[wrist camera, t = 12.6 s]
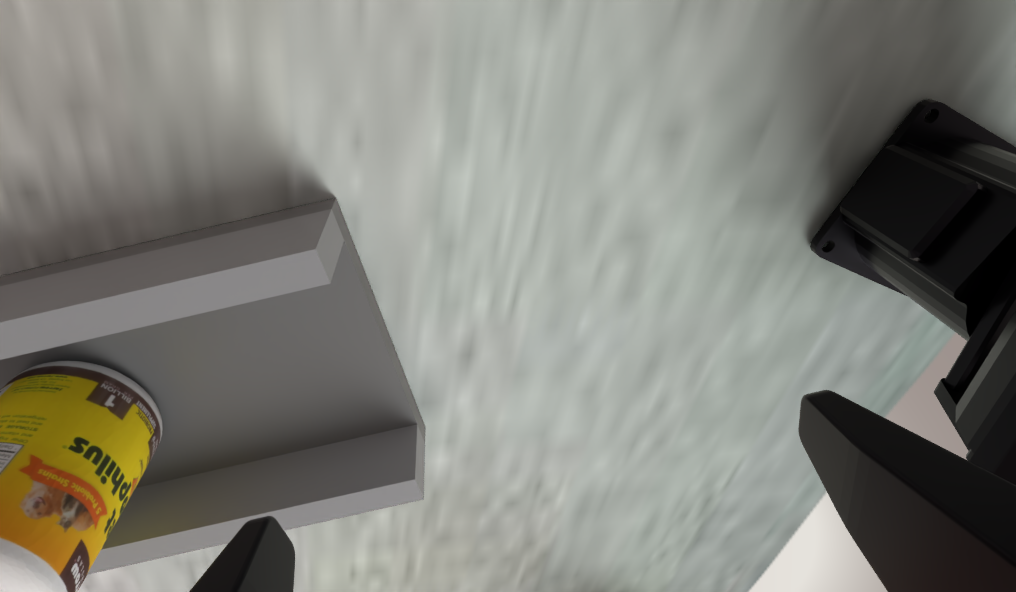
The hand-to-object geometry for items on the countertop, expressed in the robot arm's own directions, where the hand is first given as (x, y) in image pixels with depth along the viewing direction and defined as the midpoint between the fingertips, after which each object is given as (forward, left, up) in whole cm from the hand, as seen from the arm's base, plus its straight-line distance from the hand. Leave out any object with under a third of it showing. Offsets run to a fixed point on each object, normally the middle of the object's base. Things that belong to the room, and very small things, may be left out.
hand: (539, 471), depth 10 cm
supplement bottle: (+11, +14, -12) cm, 21 cm away
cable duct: (+11, +14, -13) cm, 22 cm away
